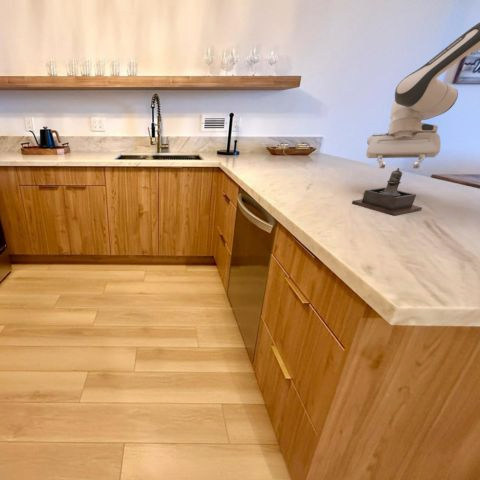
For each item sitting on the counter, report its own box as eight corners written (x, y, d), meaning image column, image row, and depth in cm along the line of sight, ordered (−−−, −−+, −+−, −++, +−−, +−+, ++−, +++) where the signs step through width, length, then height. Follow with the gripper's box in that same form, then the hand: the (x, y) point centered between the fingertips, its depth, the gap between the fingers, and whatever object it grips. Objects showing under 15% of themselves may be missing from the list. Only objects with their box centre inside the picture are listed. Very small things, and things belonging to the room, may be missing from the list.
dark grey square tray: (421, 210, 94) (427, 195, 92) (394, 215, 89) (399, 200, 87) (377, 199, 106) (382, 185, 104) (351, 203, 101) (355, 189, 99)
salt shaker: (378, 205, 96) (391, 168, 91) (373, 200, 101) (385, 165, 96) (400, 207, 94) (413, 170, 89) (393, 202, 99) (406, 166, 94)
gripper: (369, 129, 106) (364, 163, 104) (444, 125, 95) (440, 163, 93) (367, 139, 111) (362, 171, 109) (438, 136, 101) (433, 172, 99)
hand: (398, 167), depth 101 cm, fingers open, 8 cm apart
